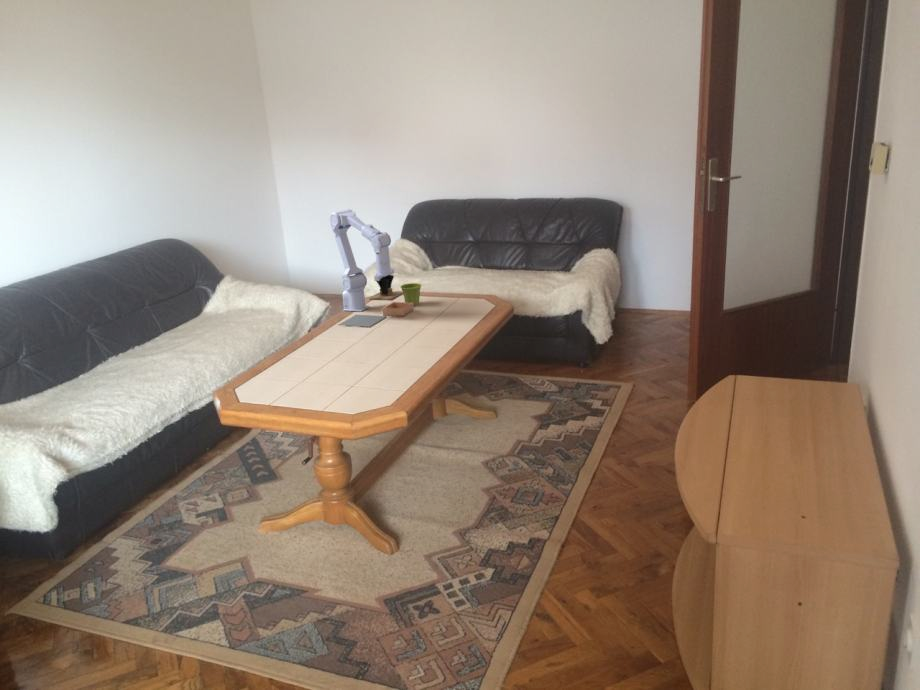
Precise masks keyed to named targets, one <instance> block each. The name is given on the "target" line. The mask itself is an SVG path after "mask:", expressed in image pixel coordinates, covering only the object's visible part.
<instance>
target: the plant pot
mask: <svg viewBox="0 0 920 690" xmlns="http://www.w3.org/2000/svg"><path fill="white" fill-rule="evenodd" d="M421 288H422V284H421V283H416V282H415V283H414V282H413V283H411V282H409V283H406V284H405V283H404V284H402V285H400V289H401V292H404V294H403V295H402V296H403V299H404V302H407V303H413V306H415V305H416V306H419V305H420V297H421V296H420V295H421V294H420V293H421Z"/></svg>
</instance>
